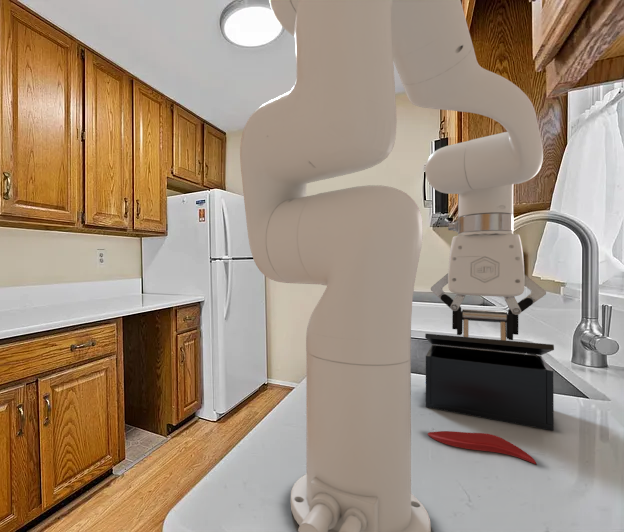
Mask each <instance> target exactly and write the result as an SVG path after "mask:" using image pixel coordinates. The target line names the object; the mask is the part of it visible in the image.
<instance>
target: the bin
mask: <svg viewBox="0 0 624 532" xmlns="http://www.w3.org/2000/svg"><path fill="white" fill-rule="evenodd" d="M554 391H555V390H554V370H553V369H552V367H551V366H550V365H549V364H548V362H547V361H546V360H545V359H544V357H543V355H533V354H523V353H514V352H504V351H494V350H484V349H474V348H464V347H454V346H444V345H434V344H431V346H430V348H429V349H428V351H427V353H426V354H425V408H428V409H435V410H439V411H445V412H450V413H456V414H459V415H460V414H461V415H466V416H472V417H476V418H477V417H478V418H483V419H487V420H494V421H499V422H505V423H509V424H515V425H521V426H526V427H531V428H536V429H542V430H547V431H554V430H555V429H554V428H555V426H554V423H555V422H554V421H555V420H554V419H555V414H554V413H555V409H554V405H555V404H554V396H555V395H554V394H555V393H554Z"/></svg>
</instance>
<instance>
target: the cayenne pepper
mask: <svg viewBox="0 0 624 532" xmlns="http://www.w3.org/2000/svg"><path fill="white" fill-rule="evenodd" d="M427 435H428V436H429V438H431V439H433V440H435V441H437V442H439V443H442V444H444V445H447V446H451V447H455V448H461V449H466V450H474V451H482V452H491V453H499V454H504V455H507V456H508V455H509V456H512V457H515V458H519V459H521V460H524V461H526V462H529V463H532V464H534V465H537V462H536V460H535V459H534V457H533V456H532V455H531V454H529V453H527V452H526V451H525V450H524V449H522V448H520V447H519V446H517V445H516V444H513V443H512V442H510V441H508V440H506V439H504V438H502V437H500V436H498V435H495V434H492V433H485V432H465V431H454V430H452V431H450V430H440V431H439V430H438V431H429V432H428V433H427Z"/></svg>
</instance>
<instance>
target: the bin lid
mask: <svg viewBox="0 0 624 532" xmlns="http://www.w3.org/2000/svg"><path fill="white" fill-rule="evenodd" d="M461 311H462V320H463V332H462V335H463V336H461V335H450V334H449V335H447V334H436V333H425V335H424V338H425V339H426V340H427V341H428V342H429V344H431V345H440V346H450V347H460V348H470V349H480V350H490V351H500V352H510V353H520V354H530V355H539V356H543V355H546V354H548V353H551V352H553V351H554V350H555V345H554V344H551V343H541V342H540V343H539V342H530V341H529V342H528V341H517V340H507V337H506V323H507V314H508V311H503V310H502V311H501V310H500V311H499V310H481V309H461ZM469 321H471V322H486V323H499V330H500V331H499V332H500V335H499V336H500V339H494V338H483V337H473V336H472V337H470V336H469Z"/></svg>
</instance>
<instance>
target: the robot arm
mask: <svg viewBox="0 0 624 532" xmlns="http://www.w3.org/2000/svg"><path fill="white" fill-rule="evenodd" d="M268 2H269V5H270V8H271V11H272V13H273V15H274V16H275V19H276V20H277V22H278V23H279V24H280V25H281V27H282V28H283V29H284V30H285V31H286V32H287V33H288V34H290V35H291V36H293V37H294V42H295V67H296V68H295V69H296V70H295V71H296V74H295V83H294V85H293V87H292V88H291V90H289V91H287V92H286V93H283V94H282V95H279V96H277V97H275V98H273V99H270V100H269V101H267V102H265V103H263V104H262V105H260V106H259V107H258V108H256V109H255V110H254V111H253V112H252V113H251V115H250V116H249V117H248V119H247V121H246V123H245V125H244V128H243V131H242V134H241V139H240V146H239V160H240V172H241V182H242V183H241V184H242V191H243V192H242V193H243V201H244V210H245V211H244V212H245V220H246V230H247V238H248V244H249V249H250V253H251V256H252V258H253V259H252V260H253V261H254V264H255V265H256V267H257V269H258V270H259V272H261V274H262V275H263V276H264V277H266V278H268V279H269V280H271V281H274V282H278V283H284V284H298V285H321V286H326V288H325V290H324V291H323V294H322V295H321V297H320V299H319V300H318V302H317V303H316V305H315V307H314V308H313V310H312V311H311V312H312V313H311V314H310V317H309V319H308V323H307V327H306V334H305V351H306V356H305V357H306V358H305V359H306V365H305V366H306V369H305V371H306V373H305V376H306V379H305V380H306V385H305V386H306V387H305V388H306V398H305V399H306V400H305V401H306V408H305V409H306V411H305V412H306V417H305V418H306V419H305V420H306V429H305V431H306V432H305V433H306V434H305V435H306V436H305V437H306V440H305V441H306V442H305V443H306V444H305V445H306V452H305V453H306V464H305V465H306V473H305V474H304V475H302V476H300V477H299V478H298V479H297V480H296V481H295V482H294V484H293V485H292V488H291V490H290V511H291V513H292V516H293V519H294V520H295V522H296V523H297V525H299V526H298V527H297V528H298V529H297V532H432V530H431V529H432V528H431V527H432V526H431V519H430V514H429V511H427V509H426V507H425V506H424V504H423V503H422V502H421V501H420V500H419V499H418V498H417V497H416V495H415V494H413V493H412V313H413V301H414V300H413V299H414V290H415V283H416V278H417V277H416V276H417V272H418V266H419V262H420V256H421V251H422V245H423V239H424V222H423V216H422V212H421V210H420V208H419V206H418V204H417V203H416V201H415V200H414V198H412V197H411V196H410V195H409V194H408V193H407V192H405V191H403V190H401V189H398V188H395V187H394V186H388V185H382V184H381V185H379V184H377V185H375V184H372V185H371V184H370V185H367V184H366V185H358V186H352V187H345V188H342V189H336V190H330V191H324V192H320V193H317V194H311V195H307V184H311V183H315V182H319V181H325V180H328V179H329V180H330V179H333V178H337V177H338V178H339V177H342V176H343V177H344V176H346V175H351V174H355V173H359V172H362V171H365V170H368V169H371V168H373V167H375V166H377V165H379V164H381V163H382V162H384V161H385V160H386V159H387V158H388V157H389V156H390V154H391V153H392V152H393V149H394V147H395V144H396V143H395V142H396V137H397V99H396V82H395V81H396V80H395V69H396V72H397V74H398V76H399V79H400V81H401V84H402V87H403V89H404V92H405V95H406V97H407V99H408V101H409V102H410V103H411V104H412V105H414V106H415V107H418V108H423V109H432V110H442V111H453V112H461V113H471V114H476V115H481V116H483V117H487V118H489V119H492V120H493V121H495V122H497V123H498V124H500V125H501V126H502V127H503V128H504V130H505V131H504V132H499V133H495V134H491V135H486V136H482V137H478V138H472V139H470V140H467V141H461V142H458V143H457V142H456V143H454V144H449V145H446V146H443V147H440V148H437V149H436V150H434V151H433V152H432V153H431V154H430V155H429V157H428V158H427V160H426V163H425V167H424V169H425V170H424V171H425V177H426V180H427V182H428V184H429V185H430V187H432V189H434V190H435V191H437V192H439V193H441V194H442V193H443V194H449V195H450V194H451V195H458V196H457V197H458V199H457V200H458V202H457V203H458V204H457V205H458V207H457V210H458V211H457V213H458V214H457V220H455V221H453V222H448V225H447V230H448V231H453V232H455V233H457V235H454V236H453V237H452V238H451V243H450V249H449V258H448V269H447V270H448V271H447V273H446V274H445V275H444V276H442V277H441V278H440V279H439V280H437V281H436V282H435V283H434V284H433V285H432V286H431V287H430V291H431V292H432V293H433V294H434V295H435V296H437V298H439V299H440V300H441V301H442V302H443V303H444V304H445V305H446V306H447V307H448V308H449V309H450V310H451V311H452V317H451V318H452V322H451V325H452V326H451V328H452V330H456V336H461V335H463V320H462V306H461V305H462V303H463V301H464V299H465V298H466V296H475V297H478V296H479V297H498V298H499V297H501V298H503V299H504V301H505V303H506V305H507V307H508V310H507V323H506V340H508V341H514V336H515V335H516V336H518V335H519V315H521V313H522V312H524V311H526V310H527V309H528V308H529V307H531V306H532V305H533V304H535V303H536V302H537V301H539V300H540V299H542V298H544V297H545V296H546V295H547V291H546V290H545V289H544V288H543V287H542V286H540V285H539V284H537V283H536V282H535V281H534V280H532V279H531V278H530V277H529V276H528V275H526V274H525V261H524V260H525V259H524V252H523V244H522V240H521V236H520V234H519V233H514V185H517V184H518V185H519V184H522V183H526V182H528V181H530V180H531V179H533V178H534V177H536V176H537V174H538V173H539V172H540V170H541V168H542V165H543V162H544V161H543V160H544V148H543V142H542V135H541V132H540V127H539V121H538V118H537V117H538V116H537V113H536V110H535V107H534V105H533V103H532V100H530V98H529V96H528V95H527V94H526V93H525V92H524V91H523V90H522V89H521V88H520V87H519V86H518V85H516V84H515V83H514V82H512V81H510V80H509V79H507V78H506V77H504V76H502V75H500V74H497V73H495V72H493V71H491V70H488V69H486V68H484V67H482V66H480V64H479V62H478V60H477V55H476V52H475V48H474V45H473V41H472V37H471V33H470V29H469V27H468V23H467V19H466V15H465V12H464V8H463V4H462V1H461V0H268ZM394 67H395V68H394ZM446 285H447V287H448V291H449V292H451V293H452V294H455V297H454V298H452V297H450V296H449V295H448V294H447V293H446V292H445V291H444V290H443V288H444V287H445V286H446ZM525 288H527V289H528V290H529V291H530V293H529V294H528V295H527V296H525V297H524V298H522V299H521V300H519V301H517V299H516V297H518V296H521V295H523V294H524V291H525Z"/></svg>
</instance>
